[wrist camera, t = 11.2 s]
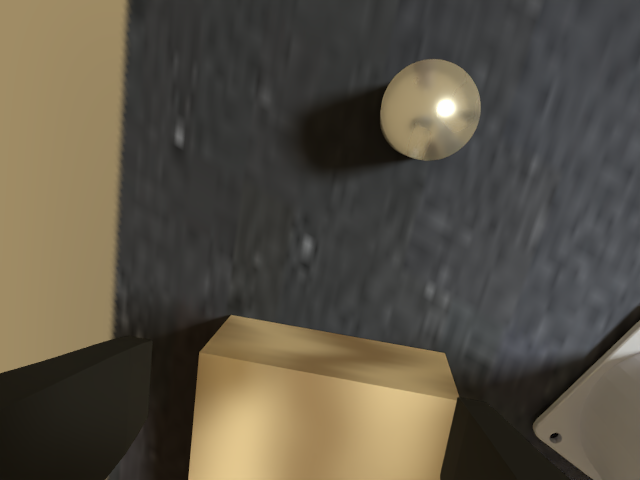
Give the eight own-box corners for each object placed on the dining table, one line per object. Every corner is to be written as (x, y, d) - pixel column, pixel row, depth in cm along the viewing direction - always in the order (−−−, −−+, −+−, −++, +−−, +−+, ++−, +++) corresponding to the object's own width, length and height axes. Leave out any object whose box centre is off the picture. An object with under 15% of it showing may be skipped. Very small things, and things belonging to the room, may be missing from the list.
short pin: (475, 109, 19) (501, 99, 15) (424, 172, 19) (436, 179, 15) (413, 60, 19) (423, 38, 15) (364, 126, 19) (361, 121, 15)
